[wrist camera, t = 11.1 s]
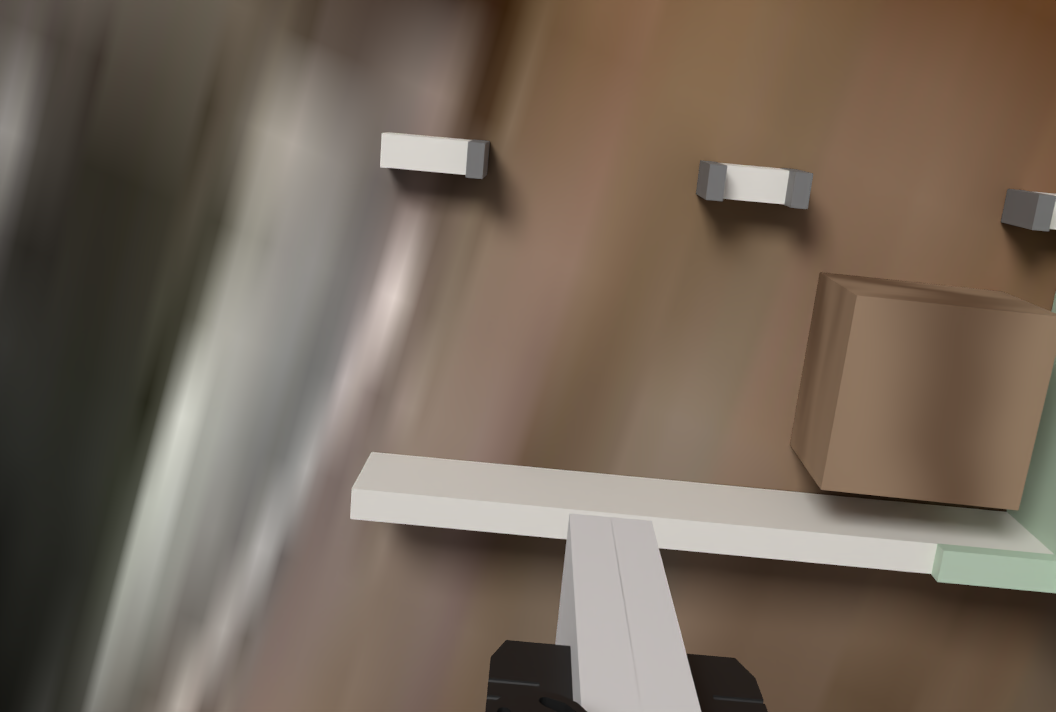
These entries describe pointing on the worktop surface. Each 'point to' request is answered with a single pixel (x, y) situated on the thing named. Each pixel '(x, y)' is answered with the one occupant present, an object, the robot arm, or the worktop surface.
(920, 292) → the block
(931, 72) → the worktop surface
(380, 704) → the worktop surface
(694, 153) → the worktop surface
